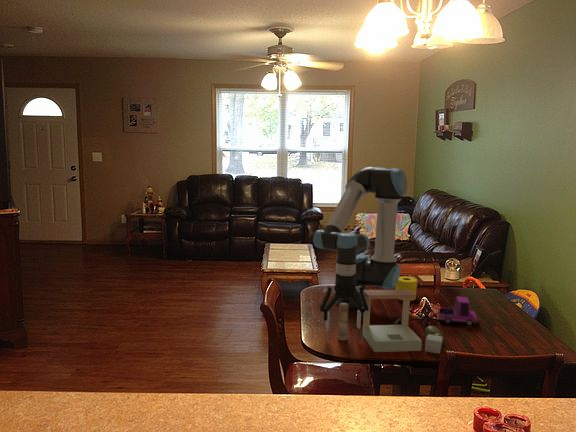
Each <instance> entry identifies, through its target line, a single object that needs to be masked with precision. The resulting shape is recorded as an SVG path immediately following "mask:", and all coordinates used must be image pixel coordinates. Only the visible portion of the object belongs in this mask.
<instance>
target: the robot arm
mask: <svg viewBox="0 0 576 432" xmlns="http://www.w3.org/2000/svg"><path fill="white" fill-rule="evenodd" d="M407 190H408V180H407V174H406V173H405V171H404V170H403V169H401V168H396V167H381V166H380V167H379V166H367V167H364V168H362V169H359V170H358V171H356V172H355V173H354V174H353V175H352V176H351V177H350V178H349V180H348V181H347V183H346V185H345V191H344V193H343V194H342V196H341V198H340V200H339V201H338V203H337V205H336V207H335V209H334V211H333V212H332V214H331V216H330V218H329V220H328V222H327V223H326V225H325V227H324V229H318V230H316V231H315V232H314V233H313V238H312V241H313V245H314V247H316V248H317V249H321V250H322V249H323V250H329V251H335V252H336V260H335V261H336V262H335V263H336V265H335V273H336V274H335V283H334V286H330V285H327V286H326V292H325V294H324V296H323V298H322V301H321V303H320V304H319V307H318V309H319V310H320V312H323V317H322V318H323V320H324V321H325V328H326V330H327V331H328V330H330V316H331V315H330V312H329V311H330V310H331V309H332V307H333V306H334V304H336V305H337V306H339V304H340V303H347V304H349V309H348V310H357V313H356V327H357V328H358V330H361V328H362V327H361V326H362V325H361V324H362V321H363V316H364V312H365V311H368V310H369V308H368V305H367V303H366V300H365V295H364V294H363V290H367V286H370V287H374V288H380V289H381V290H394V289H395V288H396V284H397V282H398V280H399V277H400V276H401V270H402V269H401V265H400V264H398V263H397V261H398V258H396V257H395V244H396V231H397V230H396V229H397V215H398V205H399V204H398V203H400V202H401V200H402V197H403V196H406V194H407ZM368 193H369V194H370V193H371V194H374V199H375V200H376V201H377V209H376V210H377V212H376V227H375V237H374V238H375V240H374V253H373V255H371V257H370V259H369V257H368V255H365V254H364V253H365V252H366V251H368V250H369V248H370V245H371V242H370V238H369V236H367V235H366V234H364V233H352V232H344V231H345V229H346V227H347V225H348V223H349V222H350V219H351V218H352V216H353V214H354V212H355V210H356V209H357V207H358V204H359V203H360V201H361V199H362V198H364V197H365V196H366V194H368ZM334 291H335V293H334V294H333V296H332V297H331V294H332V293H333V292H334ZM330 297H331V298H330ZM329 299H330V300H329Z"/></svg>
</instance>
